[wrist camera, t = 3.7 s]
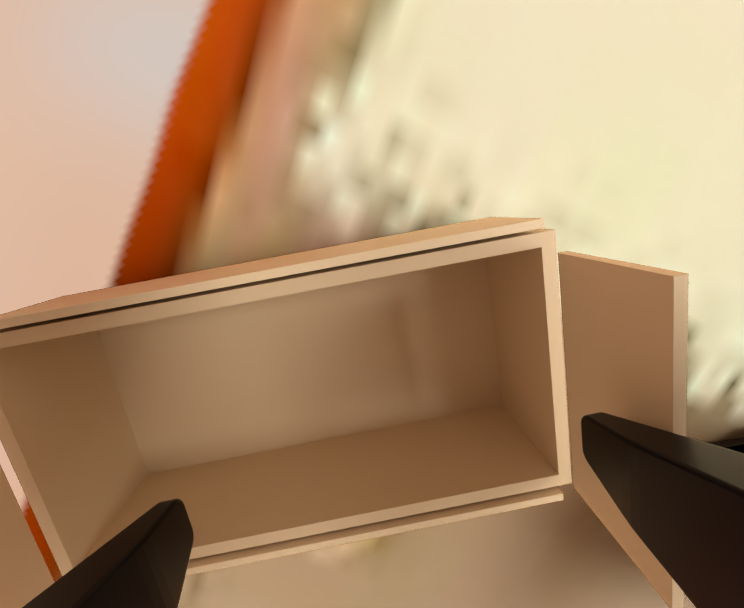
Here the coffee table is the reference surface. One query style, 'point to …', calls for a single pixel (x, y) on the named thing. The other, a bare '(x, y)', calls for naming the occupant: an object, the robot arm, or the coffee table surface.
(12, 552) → the outer flap
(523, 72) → the coffee table surface
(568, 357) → the inner flap
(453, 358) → the carton
